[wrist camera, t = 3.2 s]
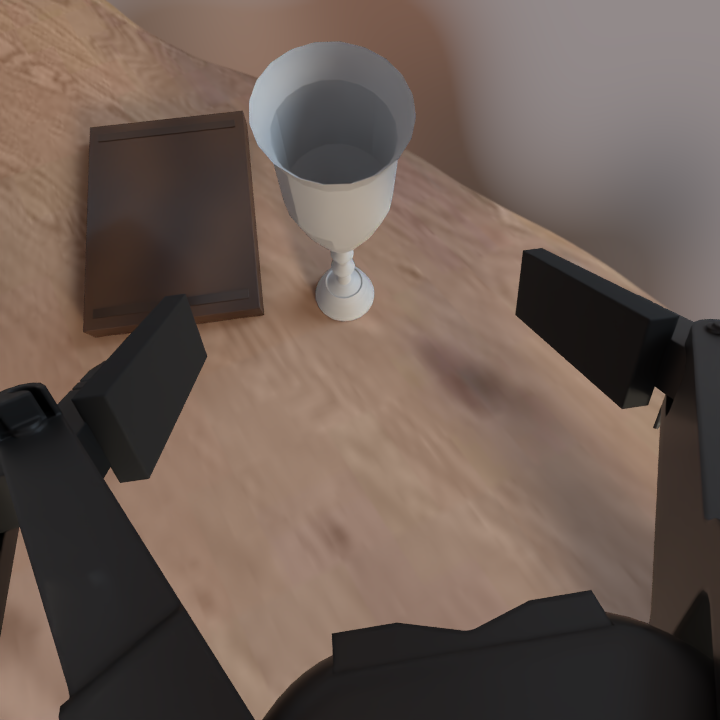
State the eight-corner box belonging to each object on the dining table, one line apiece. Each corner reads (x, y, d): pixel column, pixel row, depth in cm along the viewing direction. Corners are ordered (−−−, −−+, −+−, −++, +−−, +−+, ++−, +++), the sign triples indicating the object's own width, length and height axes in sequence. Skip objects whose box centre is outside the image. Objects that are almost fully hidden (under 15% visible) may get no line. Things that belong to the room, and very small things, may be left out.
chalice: (298, 263, 34) (236, 54, 16) (373, 248, 34) (391, 29, 17) (314, 341, 32) (264, 200, 15) (393, 324, 33) (436, 167, 15)
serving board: (95, 337, 32) (82, 331, 31) (100, 140, 37) (89, 126, 36) (264, 315, 33) (259, 308, 31) (246, 124, 38) (242, 109, 36)
